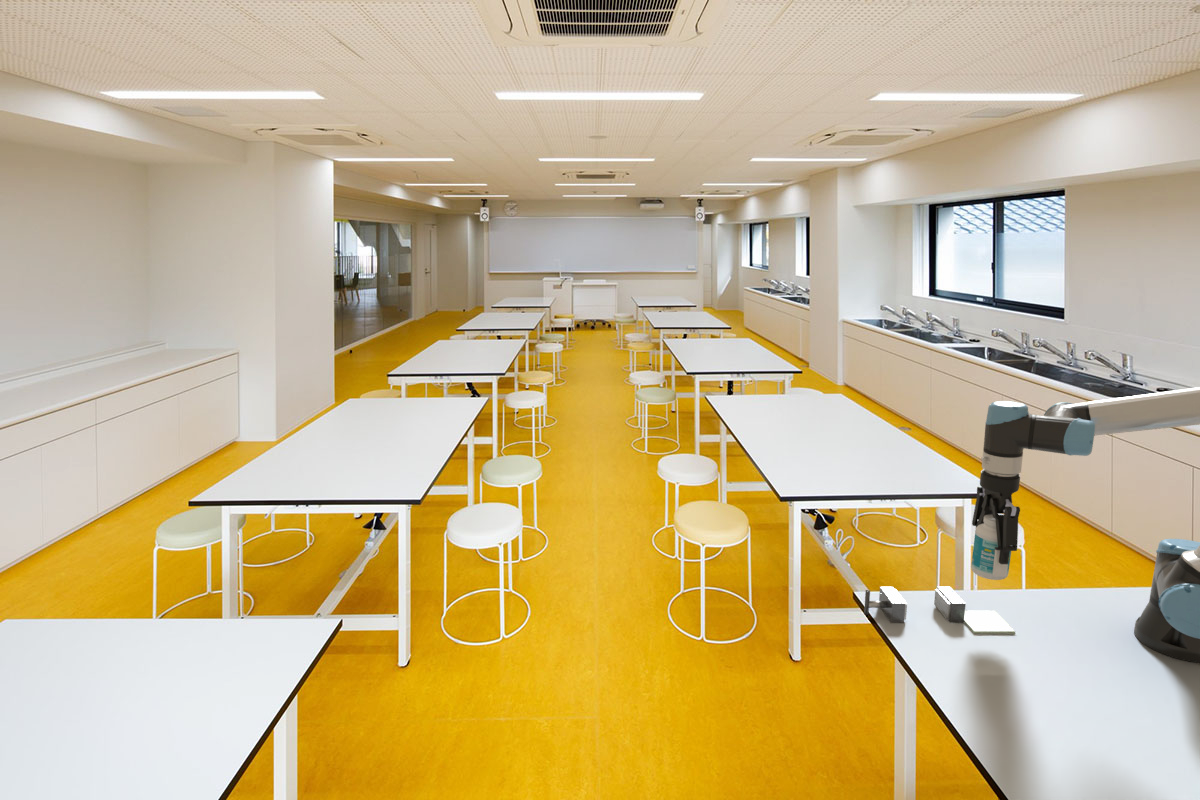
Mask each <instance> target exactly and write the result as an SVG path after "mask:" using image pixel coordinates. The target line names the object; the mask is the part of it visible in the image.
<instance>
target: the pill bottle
mask: <svg viewBox="0 0 1200 800" xmlns="http://www.w3.org/2000/svg"><path fill="white" fill-rule="evenodd" d="M983 522H984V523H983V524H980V525H978V526H977V527H976V526H975V530H974V537H973V538H974V541H973V548H972V557H971V566H970V570H971V571H972V572H973V573H974V575H976V576H978V577H980V578H984V579H987V580H992V581H1001V580H1005V579H1006V578H1008V576H1009V571H1010V563H1011V557H1012V551H1010V553H1009V561H1008V569H1007V576H993V575H992V573H993V564H994V555H995V547H998V542H997V531H996V521H995V518H993V515H985V516H984V520H983Z"/></svg>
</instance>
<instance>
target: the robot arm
mask: <svg viewBox="0 0 1200 800" xmlns="http://www.w3.org/2000/svg"><path fill="white" fill-rule="evenodd" d="M1190 426H1200V386H1199V387H1198V386H1197V387H1196V386H1195V387H1190V388H1183V389H1174V390H1169V391H1168V390H1167V391H1159V392H1154V393H1146V394H1145V393H1144V394H1137V395H1132V396H1129V395H1128V396H1123V397H1116V398H1108V399H1100V400H1092V401H1087V402H1078V403H1071V402H1065V401H1062V402H1061V401H1060V402H1057V403H1054V404H1053V405H1052V406H1050V407H1049V408H1048V409H1047V410H1046V411H1045V412H1044V414H1043V415H1040V414H1039V415H1038V414H1033V413H1029V407H1028V405H1027V404H1025V403H1024V402H1023V403H1022V402H1016V401H1010V400H1000V401H999V400H998V401H994V402H991V403H990V404H989V405H988V407H987V414H986V420H985V427H984V439H983V452H982V457H981V461H982V462H981V468H982V470H981V471H980V477H979V486H977V488H976V499H975V500H976V501H975V506H974V511H973V516H972V521H971V522H972V523H971V525H972V526H973V527H975V528H976V527H977V526H978V525H980V524H983V523H984V522H983V520H984V516H985V515H993V518H995V521H996V531H997V542H998V547H995V555H994V564H993V573H992V575H993V576H1007V569H1008V561H1009V553H1010V551H1011V552H1017V550H1018V539H1019V517H1020V512H1021V507H1020V506H1014V504H1013V498H1012V495H1013V494H1015V493H1017V492H1018V491H1019V489H1020V481H1021V475H1020V473H1022V465H1023V456H1024V449H1026V450H1033V451H1040V452H1048V453H1054V454H1061V455H1063V454H1064V455H1067V456H1079V457H1087V456H1090V455H1091V454H1092V451H1093V447H1094V441H1095V440H1094V439H1095V437H1096V436H1104V435H1113V434H1115V435H1116V434H1123V433H1133V432H1142V431H1143V432H1144V431H1150V430H1161V429H1170V428H1179V427H1190ZM1155 553H1156V559H1155V564H1154V571H1153V576H1152V580H1151V581H1152V582H1151V588H1150V595H1149V600H1148V603H1147V604H1146V606H1145V608H1144V609H1143V611H1142V613H1140V614H1141V615H1140V616H1139V617H1138V618H1137V619H1136V620H1135V623H1134V629H1133V634H1134V636H1135V637H1136V639H1138V641H1139V642H1141V643H1142V644H1143V645H1145V646H1147V647H1148V648H1150V649H1152V650H1154V651H1156V652H1159V653H1161V654H1163V655H1166V656H1168V657H1172V658H1174V659H1179V660H1182V661H1188V662H1193V663H1200V541H1195V540H1189V539H1182V538H1165V539H1162V540H1160V541H1159V542H1158V546H1157V549H1156V551H1155ZM1007 577H1008V576H1007Z"/></svg>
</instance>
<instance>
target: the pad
mask: <svg viewBox="0 0 1200 800" xmlns="http://www.w3.org/2000/svg"><path fill="white" fill-rule="evenodd" d="M963 624H965V625H966V626H967V628H968V629H969V630H970V631H971V632H972V634H974V635H975V634H977V635H978V634H980V635H981V634H982V635H983V634H985V635H987V634H988V635H989V634H991V635H992V634H994V635H995V634H996V635H1002V634H1003V635H1007V634H1009V635H1011V634H1012V635H1014V634H1016V630H1014V628H1013V627H1011V626H1010V624H1009V623H1008V622H1006V620H1005V619H1004V618H1003V617H1002V616H1001V615H999V613H998V612H996V610H965V615H964V623H963Z"/></svg>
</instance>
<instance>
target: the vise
mask: <svg viewBox="0 0 1200 800" xmlns="http://www.w3.org/2000/svg"><path fill="white" fill-rule="evenodd" d="M934 590H935V591H934V592H935V593H934V602H933V603H934V604H933V605H934V606H935V607H936V608H937V609H938V611H940V613H941V614H942V615H943V616H944V618H945V619H946V620H948V622H949V623H951V624H965V623H964V615H965V611H966V602H965V601H964V600H963V599H962V598H961V597H960V595H958V594H957V592H956V591H954V589H953V588H952V587H951V586H937V587H936V589H934ZM952 591H953V592H952ZM864 592H865V594H864V596H865V597H864V610H863V611H864V612H863V615H865V616H868V615H869V612H870V609H871V608H872V609H881V611H882V612H883V614H884V615H885V616H886V618H887V620H888V621H889V622H890V624H893V623H894V624H899V623H900V624H904V623H905V620H907V612H908V611H907V609H908V603H907V602H906V600H905V599H904V598H903V597H902V595H901V594H900V593H899V592H898V590H897V589H896V588H894V586H879V598H878V600H870V599H871V590H870V589H865V591H864ZM880 593H882V594H880Z"/></svg>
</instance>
